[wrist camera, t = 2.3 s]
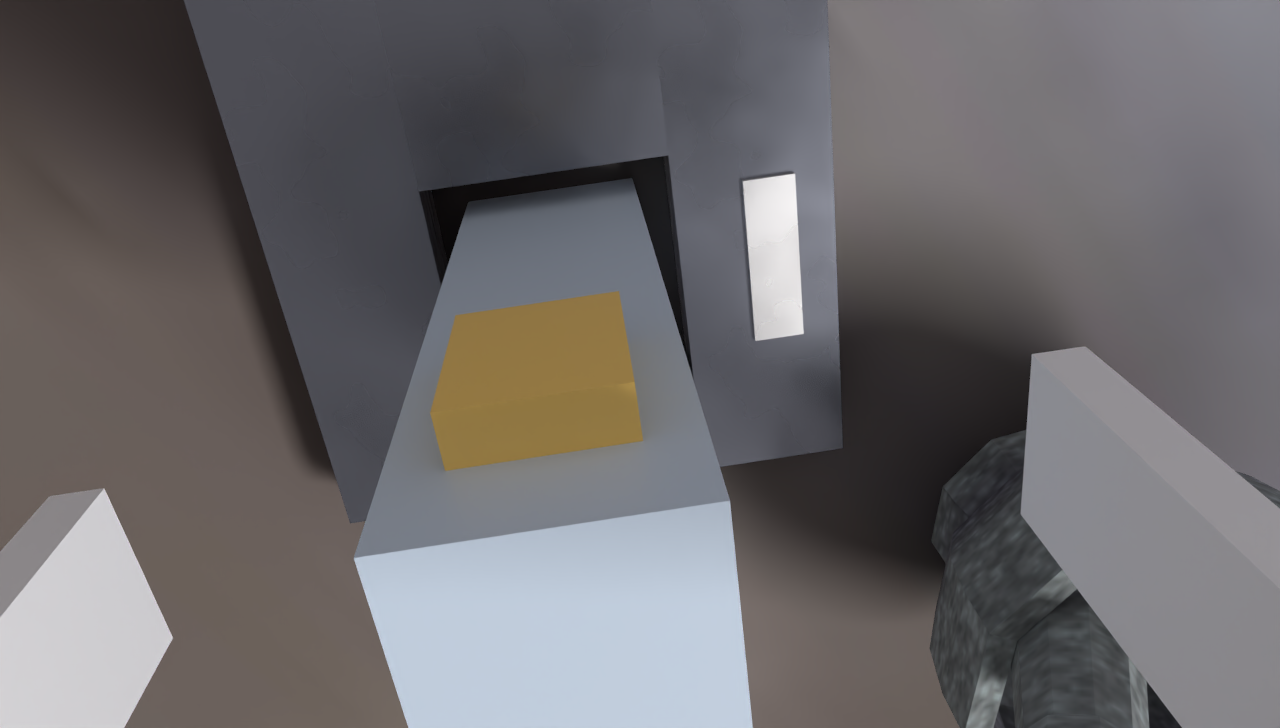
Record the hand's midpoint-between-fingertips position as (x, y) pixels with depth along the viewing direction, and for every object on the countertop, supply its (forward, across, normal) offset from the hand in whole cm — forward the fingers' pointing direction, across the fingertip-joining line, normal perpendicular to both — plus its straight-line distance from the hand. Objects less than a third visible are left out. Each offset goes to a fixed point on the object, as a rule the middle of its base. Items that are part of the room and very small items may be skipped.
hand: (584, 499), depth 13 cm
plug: (+11, 0, 0) cm, 11 cm away
